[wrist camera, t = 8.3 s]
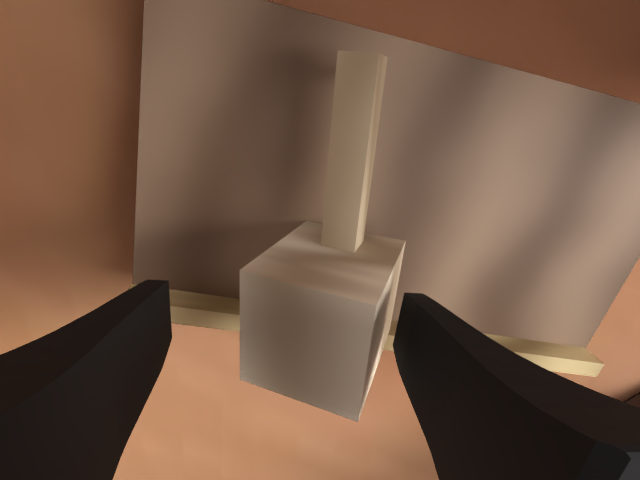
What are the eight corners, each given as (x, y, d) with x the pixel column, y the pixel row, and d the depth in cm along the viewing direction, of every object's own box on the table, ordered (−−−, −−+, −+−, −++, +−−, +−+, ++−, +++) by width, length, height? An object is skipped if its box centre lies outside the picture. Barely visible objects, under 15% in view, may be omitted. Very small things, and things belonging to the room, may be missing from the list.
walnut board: (669, 120, 17) (761, 128, 14) (552, 337, 21) (600, 383, 18) (165, -17, 13) (125, -50, 10) (147, 279, 18) (116, 323, 14)
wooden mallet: (438, 62, 12) (419, 38, 7) (389, 330, 15) (358, 422, 11) (317, 55, 13) (238, 31, 8) (300, 305, 16) (240, 379, 12)
